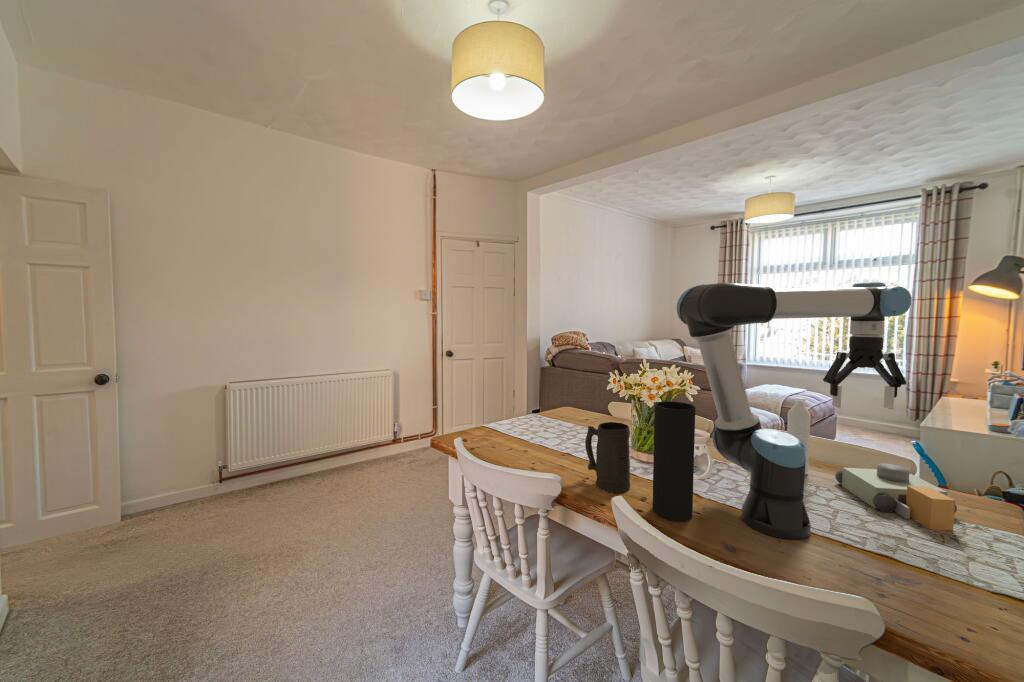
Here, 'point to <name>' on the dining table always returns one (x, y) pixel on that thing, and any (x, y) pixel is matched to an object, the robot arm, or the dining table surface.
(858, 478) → the mower deck
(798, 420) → the water bottle
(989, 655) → the dining table surface
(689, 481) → the vase
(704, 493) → the dining table surface
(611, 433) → the beer stein
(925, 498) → the orange block
